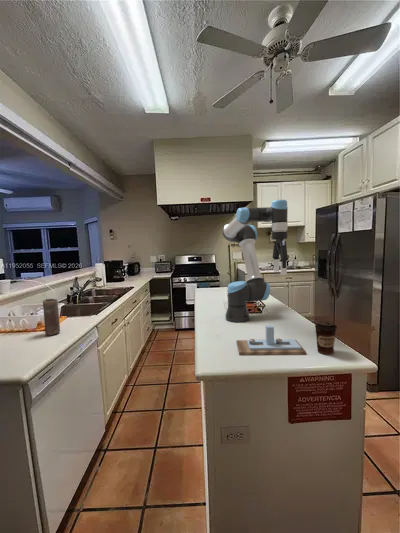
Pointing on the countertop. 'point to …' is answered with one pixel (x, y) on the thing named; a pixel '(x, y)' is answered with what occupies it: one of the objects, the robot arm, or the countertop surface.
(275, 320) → the countertop surface
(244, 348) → the boss board
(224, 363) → the countertop surface
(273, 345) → the panel
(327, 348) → the coffee cup
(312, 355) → the countertop surface
